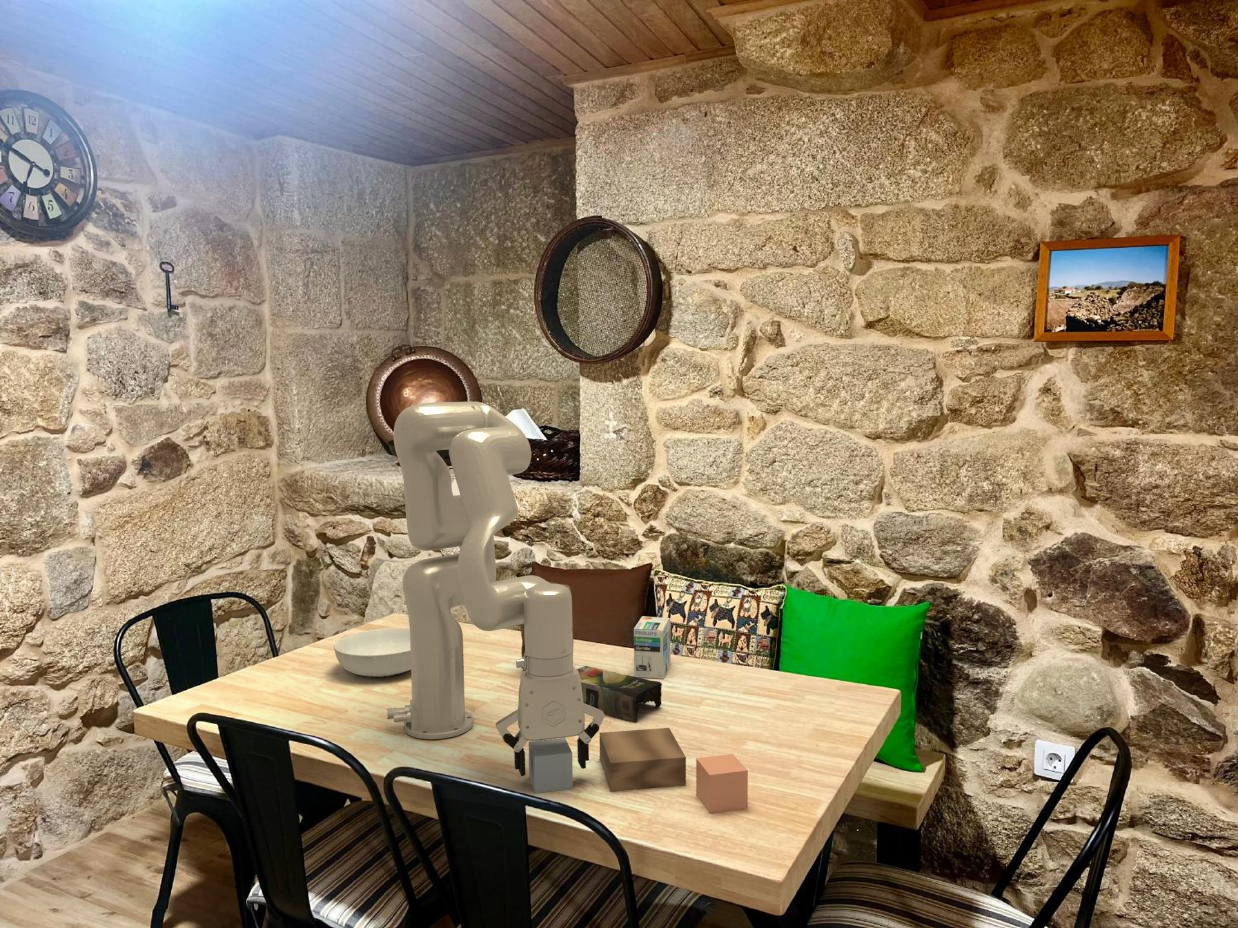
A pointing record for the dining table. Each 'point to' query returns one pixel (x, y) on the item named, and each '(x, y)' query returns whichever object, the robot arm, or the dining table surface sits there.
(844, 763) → the dining table surface
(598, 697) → the juice carton
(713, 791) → the terracotta cube
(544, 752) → the grey cube
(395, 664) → the serving bowl
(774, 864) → the dining table surface
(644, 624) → the light bulb box
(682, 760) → the base block
